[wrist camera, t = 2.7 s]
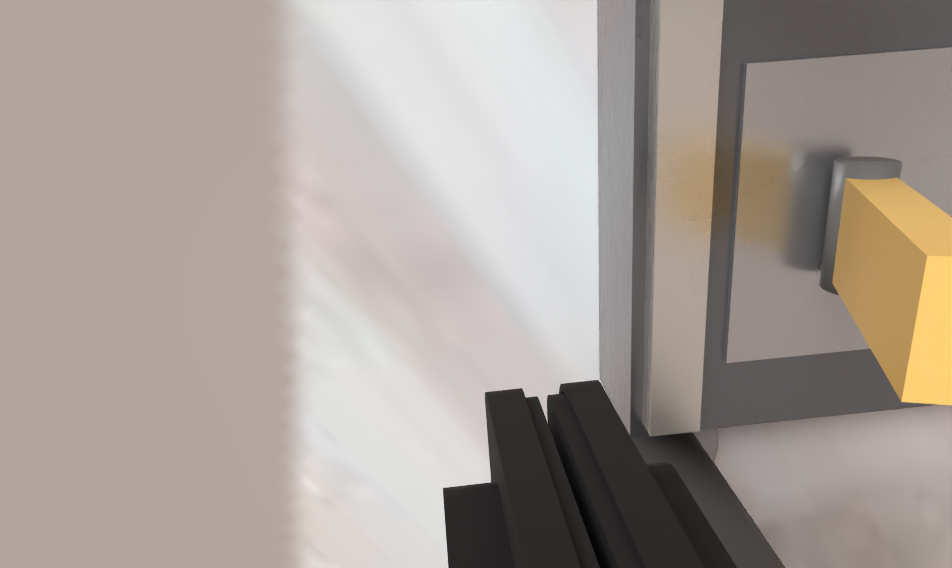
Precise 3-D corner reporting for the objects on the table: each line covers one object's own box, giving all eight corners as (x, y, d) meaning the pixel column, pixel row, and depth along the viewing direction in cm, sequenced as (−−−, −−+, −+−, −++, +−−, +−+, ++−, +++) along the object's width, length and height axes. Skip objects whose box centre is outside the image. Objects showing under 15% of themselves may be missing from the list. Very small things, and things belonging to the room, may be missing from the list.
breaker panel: (1087, -55, 22) (1262, -78, 17) (997, 338, 26) (1115, 400, 22) (597, -19, 21) (646, -34, 16) (599, 378, 26) (637, 451, 21)
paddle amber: (892, 156, 18) (1023, 240, 11) (874, 277, 20) (982, 421, 13) (828, 157, 19) (917, 240, 12) (814, 276, 20) (887, 414, 13)
